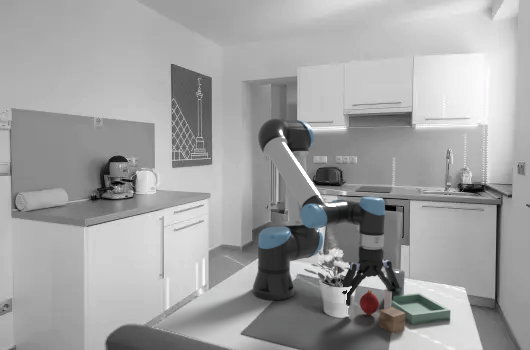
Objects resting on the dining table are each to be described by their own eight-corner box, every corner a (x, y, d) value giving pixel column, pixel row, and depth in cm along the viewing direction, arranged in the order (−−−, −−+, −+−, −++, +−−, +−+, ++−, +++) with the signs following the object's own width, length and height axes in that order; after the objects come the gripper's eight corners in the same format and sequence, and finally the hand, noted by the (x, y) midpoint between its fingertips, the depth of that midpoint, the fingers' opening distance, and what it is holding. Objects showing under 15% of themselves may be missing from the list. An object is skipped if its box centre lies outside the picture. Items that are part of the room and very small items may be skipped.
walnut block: (379, 326, 105) (379, 310, 104) (390, 322, 107) (391, 306, 107) (393, 334, 100) (393, 316, 100) (404, 329, 103) (405, 313, 103)
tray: (384, 305, 119) (384, 296, 119) (418, 301, 123) (419, 293, 123) (412, 324, 106) (412, 315, 105) (450, 319, 109) (450, 310, 109)
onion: (379, 320, 108) (380, 294, 108) (360, 318, 110) (360, 293, 109) (377, 312, 114) (378, 287, 114) (358, 310, 115) (359, 286, 115)
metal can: (382, 296, 127) (383, 269, 126) (396, 294, 129) (397, 268, 128) (392, 303, 121) (393, 274, 121) (407, 301, 123) (408, 273, 122)
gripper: (341, 252, 104) (339, 322, 105) (412, 247, 110) (410, 313, 112) (329, 245, 111) (327, 311, 112) (397, 241, 118) (395, 303, 119)
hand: (369, 312), depth 112 cm, fingers open, 13 cm apart
